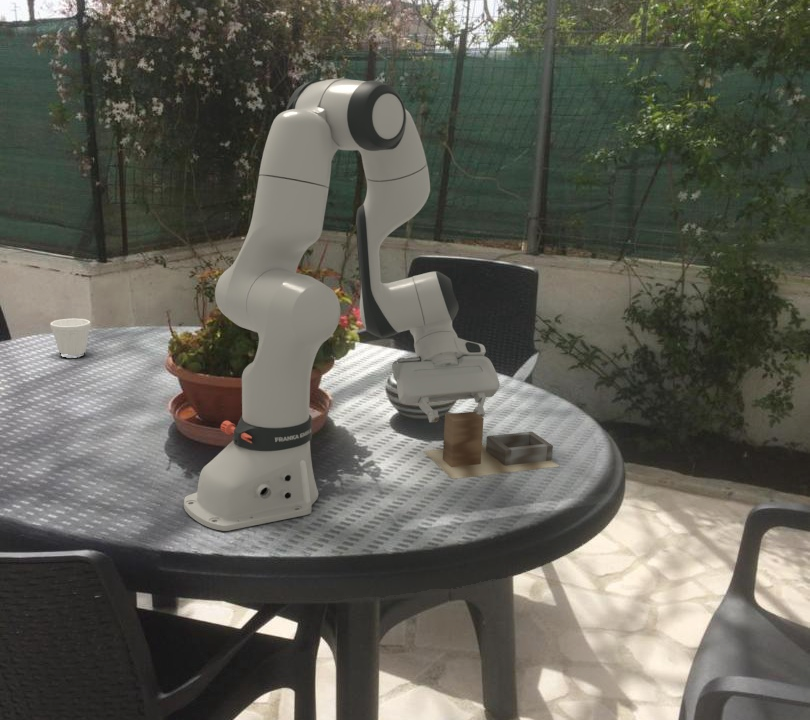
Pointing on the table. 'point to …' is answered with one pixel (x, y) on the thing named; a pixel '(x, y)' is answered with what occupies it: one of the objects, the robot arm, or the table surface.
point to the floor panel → (503, 456)
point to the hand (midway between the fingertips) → (457, 418)
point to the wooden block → (462, 439)
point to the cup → (71, 335)
